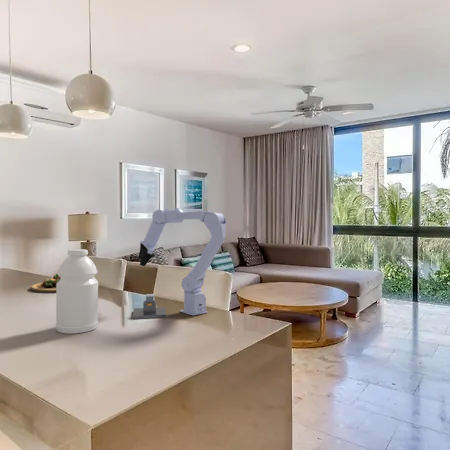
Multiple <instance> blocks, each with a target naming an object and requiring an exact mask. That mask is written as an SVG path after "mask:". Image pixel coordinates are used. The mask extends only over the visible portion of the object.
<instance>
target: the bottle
mask: <svg viewBox="0 0 450 450" xmlns="http://www.w3.org/2000/svg"><path fill="white" fill-rule="evenodd" d="M67 255H68V257H67V258H65V259H64V261H63V262H62V263H61V265H60V266H59V269H58V271H57V273H56V274H58V275H59V276H60V278H61V279H60V280H59V282H57V284H56V293H55V294H56V295H55V296H56V297H55V298H56V299H55V300H56V304H55V305H56V307H55V308H56V309H55V310H56V313H55V315H56V317H55V318H56V321H55V322H56V323H55V330H56V331H57V332H58V333H61V334H70V335H73V334H82V333H88V332H91V331H93V330H95V329H97V328H98V327H99V319H98V318H99V316H98V315H99V310H98V309H99V280H97V278H96V277H95V276H96V275H97V274H98V269H97V266H96V265H95V263H94V262H93V260H92V259H91V258H90V257H88V255H89V251H88V249H84V248H83V249H82V248H81V249H80V248H76V249H75V248H73V249H68V250H67Z"/></svg>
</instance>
